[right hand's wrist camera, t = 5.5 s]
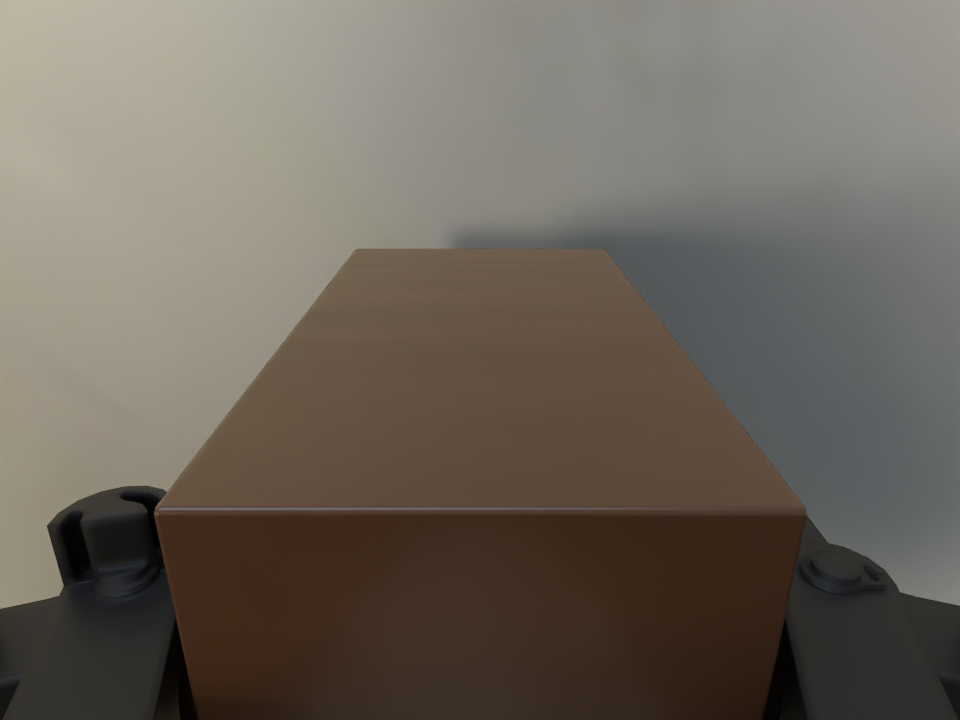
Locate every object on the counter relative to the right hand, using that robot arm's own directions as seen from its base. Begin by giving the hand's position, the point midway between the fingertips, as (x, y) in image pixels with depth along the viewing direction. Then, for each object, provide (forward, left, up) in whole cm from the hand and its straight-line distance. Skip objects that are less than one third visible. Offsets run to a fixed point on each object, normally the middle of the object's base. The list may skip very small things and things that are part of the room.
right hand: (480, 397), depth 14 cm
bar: (0, -10, -1) cm, 10 cm away
